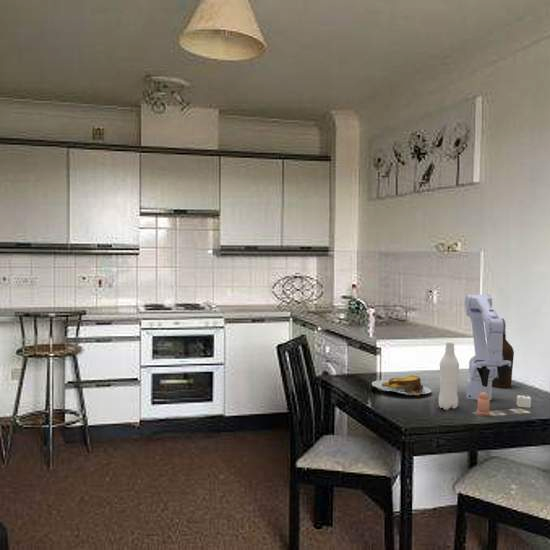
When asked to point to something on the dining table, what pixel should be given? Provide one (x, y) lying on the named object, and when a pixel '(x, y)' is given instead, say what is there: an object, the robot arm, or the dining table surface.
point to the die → (523, 401)
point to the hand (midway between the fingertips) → (493, 385)
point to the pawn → (483, 404)
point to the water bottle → (448, 378)
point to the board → (505, 412)
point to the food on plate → (402, 385)
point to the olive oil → (508, 355)
